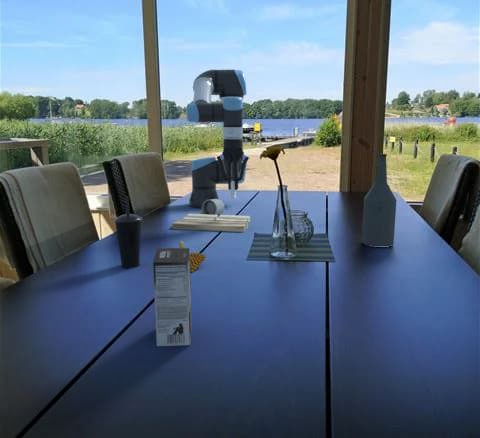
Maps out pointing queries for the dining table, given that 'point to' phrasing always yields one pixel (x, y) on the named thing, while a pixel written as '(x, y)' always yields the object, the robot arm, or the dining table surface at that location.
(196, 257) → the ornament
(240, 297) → the dining table surface
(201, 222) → the laid board
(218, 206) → the ceramic mug
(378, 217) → the bottle
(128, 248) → the drinking cup
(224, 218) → the plank
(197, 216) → the plank
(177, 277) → the coffee box
